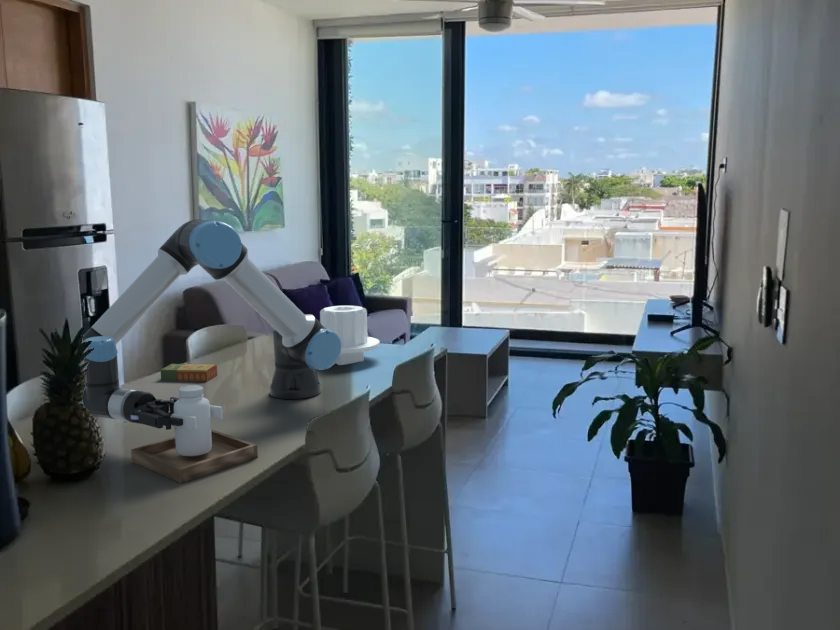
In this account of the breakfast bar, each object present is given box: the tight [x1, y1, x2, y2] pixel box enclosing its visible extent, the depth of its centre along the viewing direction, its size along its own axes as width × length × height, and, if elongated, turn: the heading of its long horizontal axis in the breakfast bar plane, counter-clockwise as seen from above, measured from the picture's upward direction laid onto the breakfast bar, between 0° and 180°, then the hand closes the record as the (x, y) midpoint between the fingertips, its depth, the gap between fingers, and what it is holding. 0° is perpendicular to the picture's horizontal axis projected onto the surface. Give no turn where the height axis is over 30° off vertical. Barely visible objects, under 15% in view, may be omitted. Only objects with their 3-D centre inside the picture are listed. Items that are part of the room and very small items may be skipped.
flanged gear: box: [319, 305, 381, 366], centre depth 270 cm, size 25×25×19 cm
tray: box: [130, 428, 259, 484], centre depth 174 cm, size 20×20×3 cm
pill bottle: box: [174, 384, 212, 456], centre depth 173 cm, size 8×8×15 cm
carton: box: [160, 363, 218, 383], centre depth 249 cm, size 8×16×4 cm, turn 82°
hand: (209, 417), depth 171 cm, fingers closed on pill bottle, 8 cm apart
